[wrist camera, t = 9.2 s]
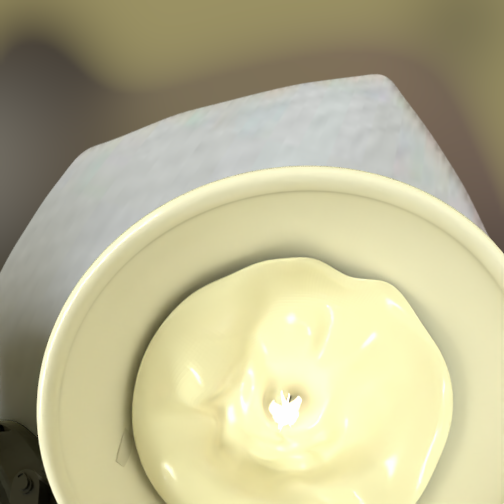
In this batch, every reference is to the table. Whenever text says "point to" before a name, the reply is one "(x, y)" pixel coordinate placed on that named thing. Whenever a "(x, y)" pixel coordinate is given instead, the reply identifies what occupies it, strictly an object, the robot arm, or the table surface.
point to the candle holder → (283, 351)
